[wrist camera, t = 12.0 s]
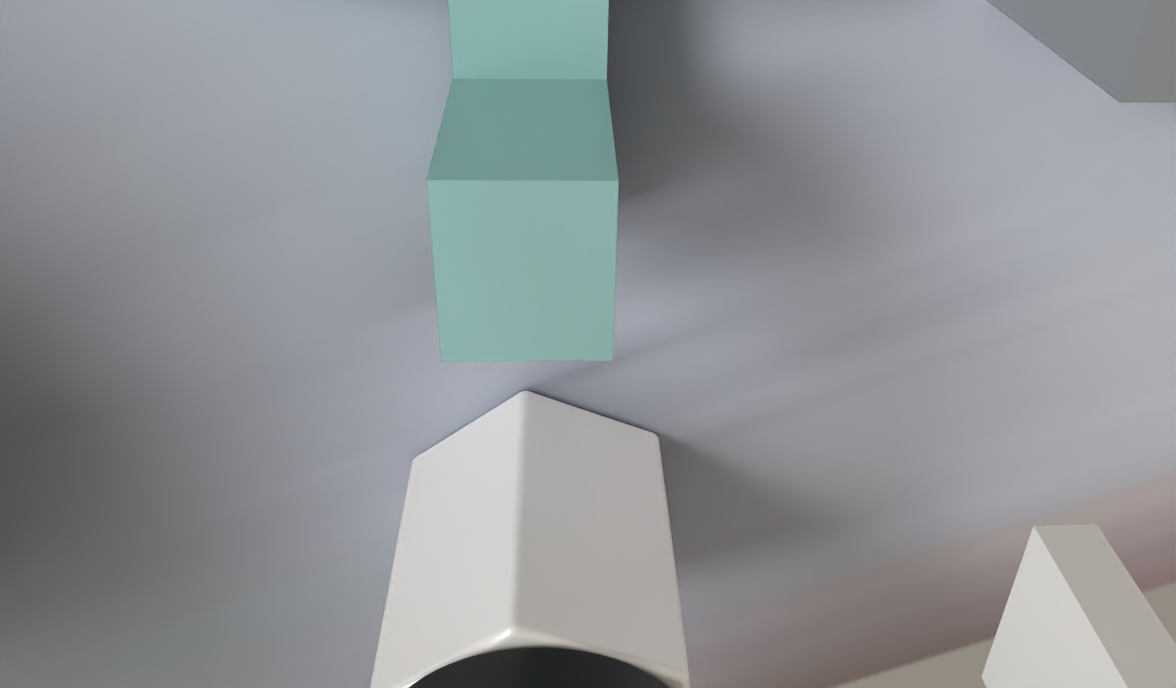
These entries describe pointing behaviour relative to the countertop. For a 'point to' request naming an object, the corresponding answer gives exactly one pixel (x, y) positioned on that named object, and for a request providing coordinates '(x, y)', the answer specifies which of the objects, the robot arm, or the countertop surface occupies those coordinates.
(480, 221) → the teal t-shaped block
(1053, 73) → the countertop surface
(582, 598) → the jar
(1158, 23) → the tub
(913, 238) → the countertop surface
